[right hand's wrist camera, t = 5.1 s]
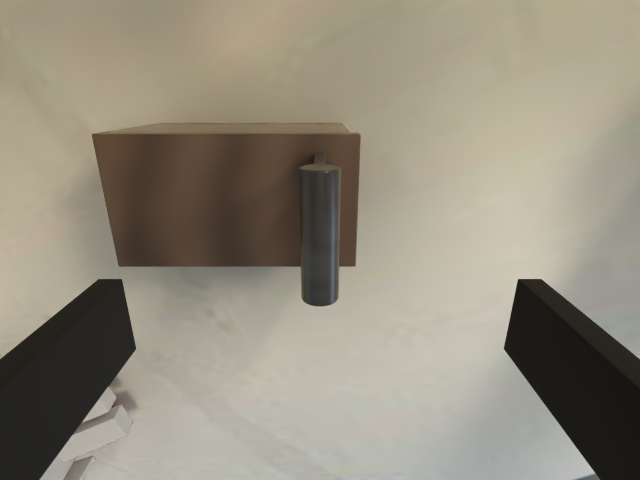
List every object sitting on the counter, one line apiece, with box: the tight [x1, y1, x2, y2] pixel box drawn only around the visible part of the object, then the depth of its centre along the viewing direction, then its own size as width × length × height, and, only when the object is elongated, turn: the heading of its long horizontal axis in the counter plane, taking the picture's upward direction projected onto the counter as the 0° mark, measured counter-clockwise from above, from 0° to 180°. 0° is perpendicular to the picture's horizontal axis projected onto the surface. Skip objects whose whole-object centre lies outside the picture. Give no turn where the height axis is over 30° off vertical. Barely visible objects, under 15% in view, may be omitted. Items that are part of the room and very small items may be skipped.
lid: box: [92, 133, 360, 306], centre depth 23 cm, size 17×9×8 cm, turn 90°
